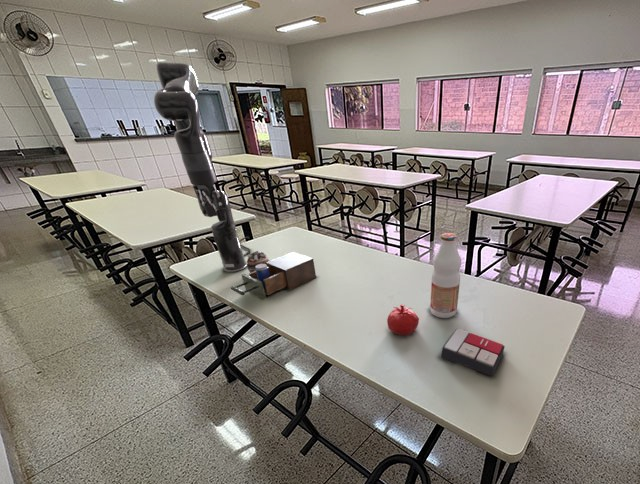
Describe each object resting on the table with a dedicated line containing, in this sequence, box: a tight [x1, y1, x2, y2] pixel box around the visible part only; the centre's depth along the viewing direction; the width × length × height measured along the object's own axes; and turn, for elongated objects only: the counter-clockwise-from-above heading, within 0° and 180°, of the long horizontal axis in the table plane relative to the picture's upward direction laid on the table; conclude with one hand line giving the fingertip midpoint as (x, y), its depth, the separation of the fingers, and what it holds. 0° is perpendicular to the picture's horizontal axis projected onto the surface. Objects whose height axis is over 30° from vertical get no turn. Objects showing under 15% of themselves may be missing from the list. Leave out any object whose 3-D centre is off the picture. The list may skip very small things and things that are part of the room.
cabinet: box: [266, 251, 317, 291], centre depth 132 cm, size 14×13×9 cm
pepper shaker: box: [255, 264, 270, 290], centre depth 122 cm, size 4×4×9 cm
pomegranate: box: [386, 304, 420, 336], centre depth 101 cm, size 10×10×9 cm
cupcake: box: [246, 250, 270, 273], centre depth 135 cm, size 10×10×10 cm
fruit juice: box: [429, 232, 462, 319], centre depth 105 cm, size 9×9×28 cm
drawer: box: [230, 266, 287, 300], centre depth 121 cm, size 19×12×7 cm, turn 144°
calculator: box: [440, 328, 506, 377], centre depth 91 cm, size 11×4×15 cm
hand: (217, 218), depth 109 cm, fingers open, 6 cm apart
